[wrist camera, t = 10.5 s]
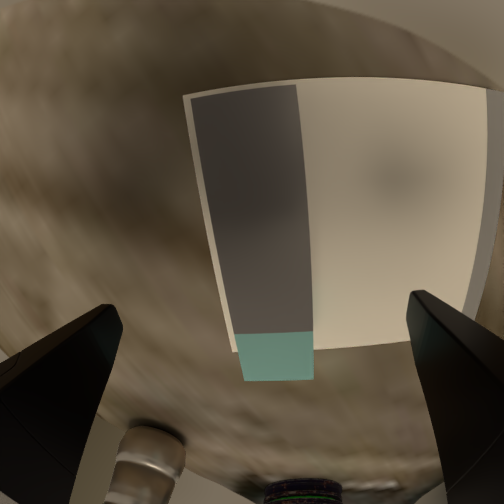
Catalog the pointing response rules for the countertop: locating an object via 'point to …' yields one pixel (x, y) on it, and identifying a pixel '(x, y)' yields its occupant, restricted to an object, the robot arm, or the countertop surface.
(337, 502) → the storage jar
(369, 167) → the notepad
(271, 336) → the marker
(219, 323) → the countertop surface
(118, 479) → the plastic bottle
